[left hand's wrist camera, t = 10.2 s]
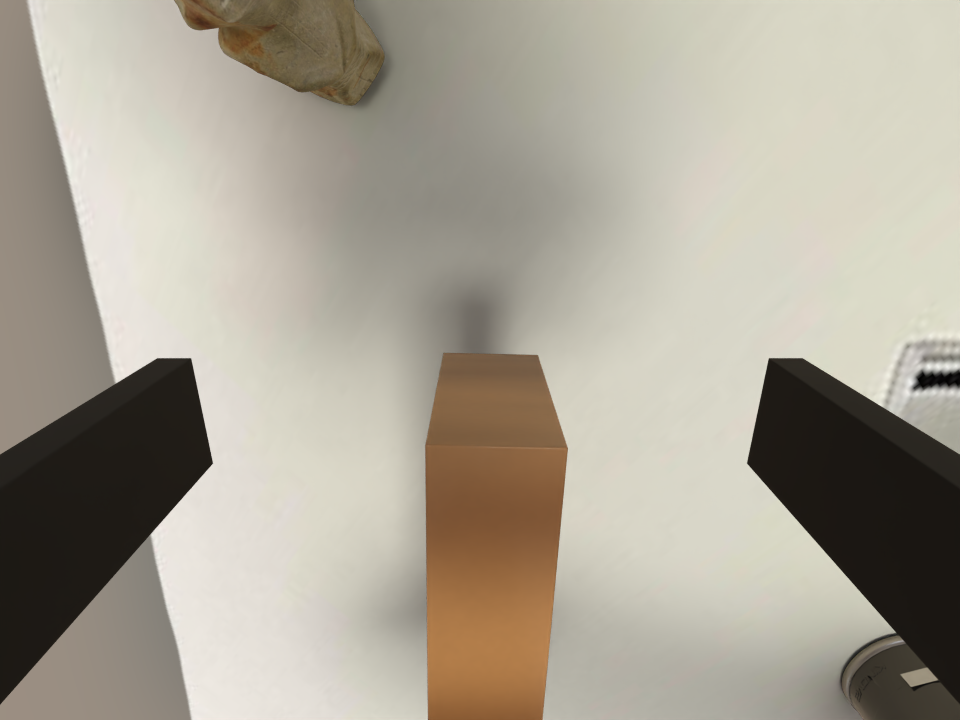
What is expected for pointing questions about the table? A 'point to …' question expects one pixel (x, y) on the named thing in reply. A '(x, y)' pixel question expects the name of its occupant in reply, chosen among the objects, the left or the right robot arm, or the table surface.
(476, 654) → the bar
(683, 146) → the table surface
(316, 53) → the sculpture
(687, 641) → the table surface
